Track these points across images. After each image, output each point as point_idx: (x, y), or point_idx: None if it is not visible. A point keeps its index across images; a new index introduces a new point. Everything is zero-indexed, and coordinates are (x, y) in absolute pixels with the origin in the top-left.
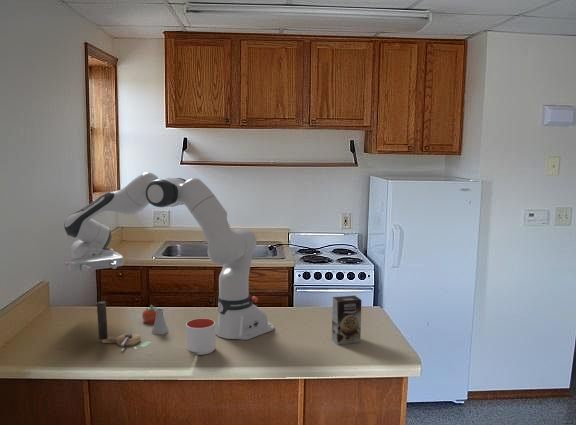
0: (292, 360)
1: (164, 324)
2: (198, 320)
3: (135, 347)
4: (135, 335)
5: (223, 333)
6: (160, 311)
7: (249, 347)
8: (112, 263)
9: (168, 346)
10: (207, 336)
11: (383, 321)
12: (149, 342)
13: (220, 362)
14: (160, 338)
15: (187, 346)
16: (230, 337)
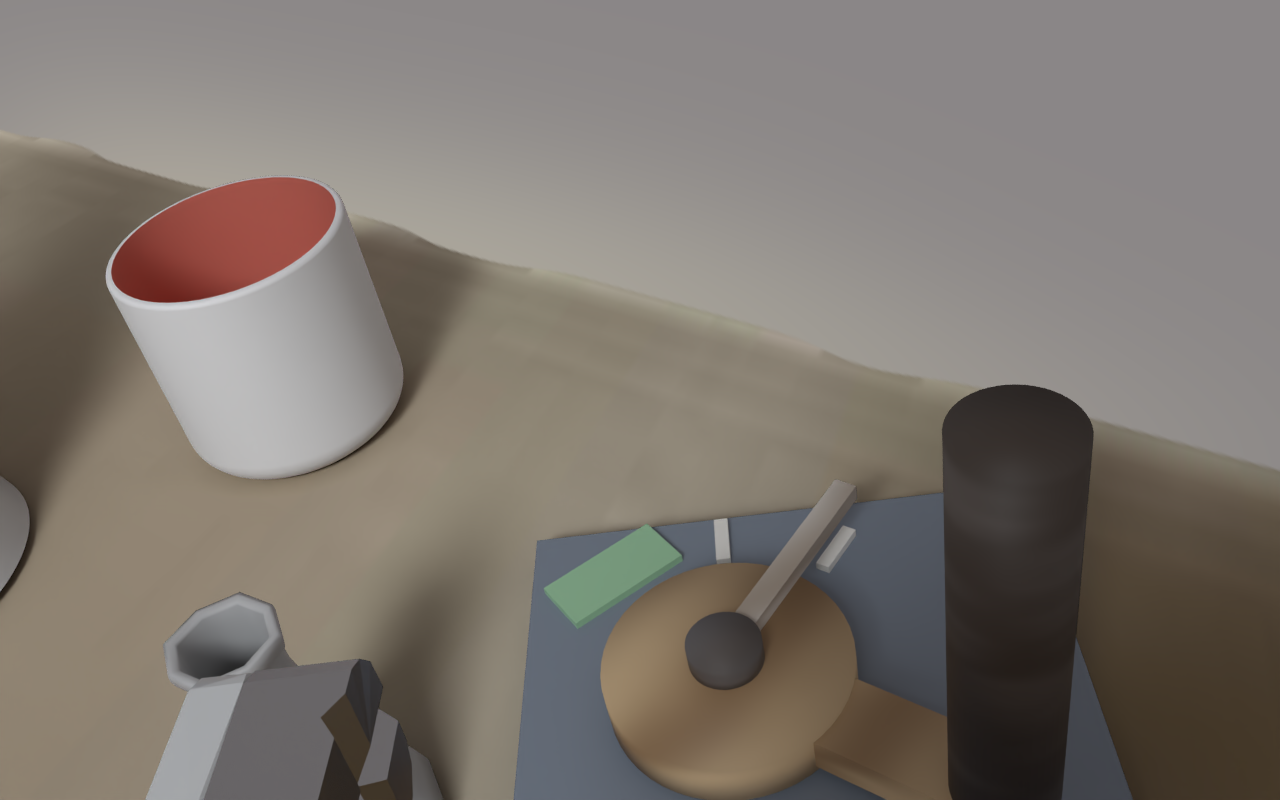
0: (76, 204)
1: None
2: (166, 315)
3: (719, 542)
4: (643, 674)
5: (2, 501)
6: (246, 597)
7: (61, 361)
8: (293, 783)
9: (441, 558)
10: (279, 237)
11: None
12: (565, 589)
13: None
14: None
15: (391, 365)
16: (6, 481)
